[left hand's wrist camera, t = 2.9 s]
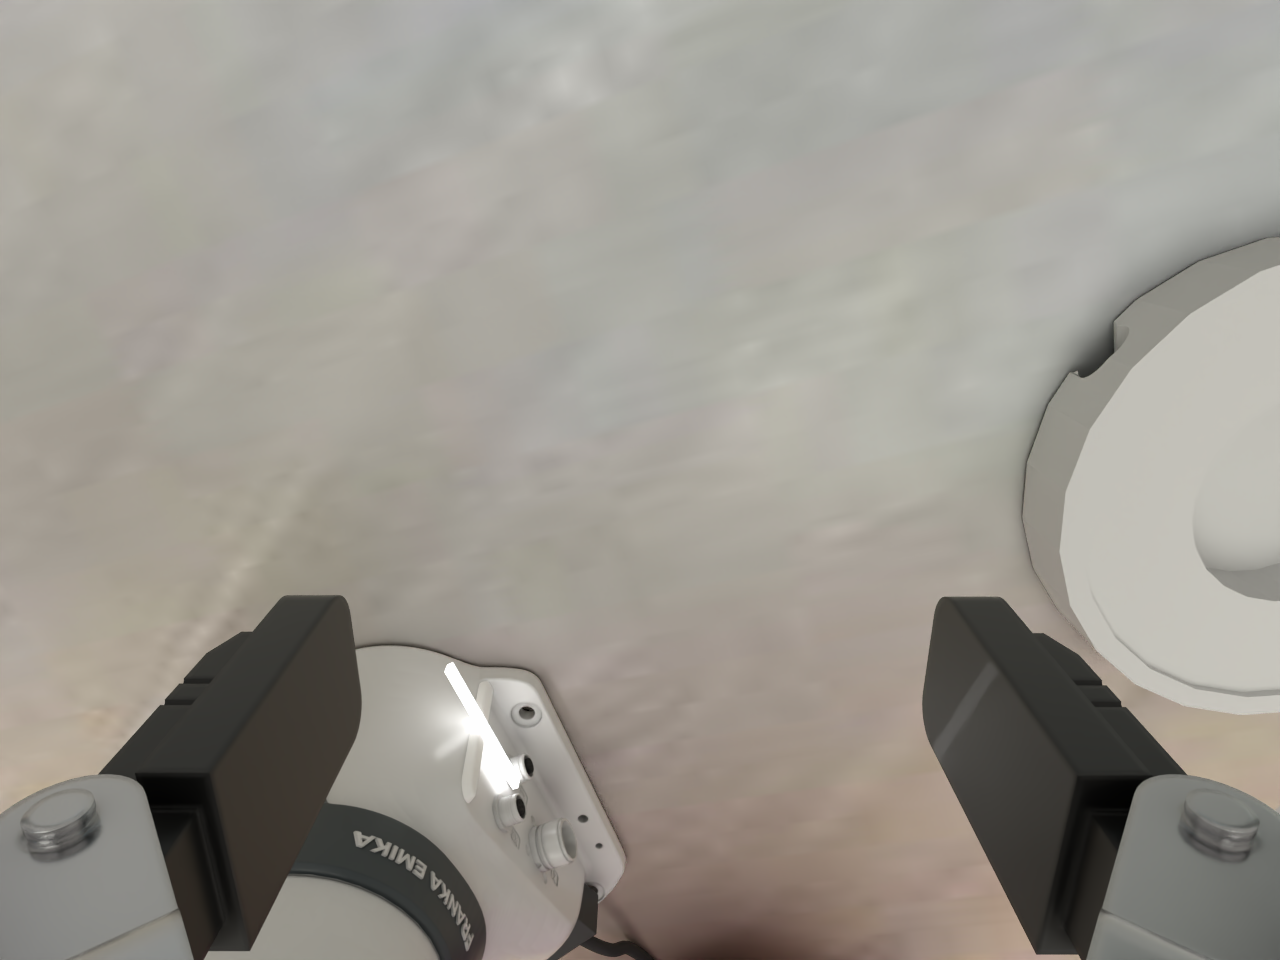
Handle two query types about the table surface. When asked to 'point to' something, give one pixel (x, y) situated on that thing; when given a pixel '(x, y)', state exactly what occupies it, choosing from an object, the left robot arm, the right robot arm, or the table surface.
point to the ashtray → (1173, 489)
